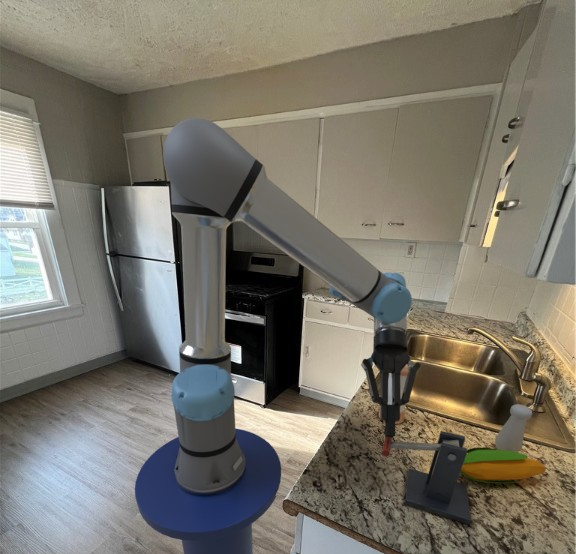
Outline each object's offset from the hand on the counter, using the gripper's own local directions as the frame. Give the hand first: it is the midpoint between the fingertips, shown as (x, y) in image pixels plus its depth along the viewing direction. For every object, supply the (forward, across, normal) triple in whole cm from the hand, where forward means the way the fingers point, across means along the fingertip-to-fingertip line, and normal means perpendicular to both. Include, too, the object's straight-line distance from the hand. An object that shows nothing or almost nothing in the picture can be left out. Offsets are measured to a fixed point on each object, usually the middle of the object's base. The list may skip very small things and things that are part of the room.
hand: (390, 436), depth 66 cm
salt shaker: (-2, -34, -20) cm, 39 cm away
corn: (+5, -26, -12) cm, 30 cm away
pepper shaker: (-10, -6, -27) cm, 29 cm away
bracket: (+11, -11, -6) cm, 17 cm away
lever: (+2, -6, 0) cm, 6 cm away
